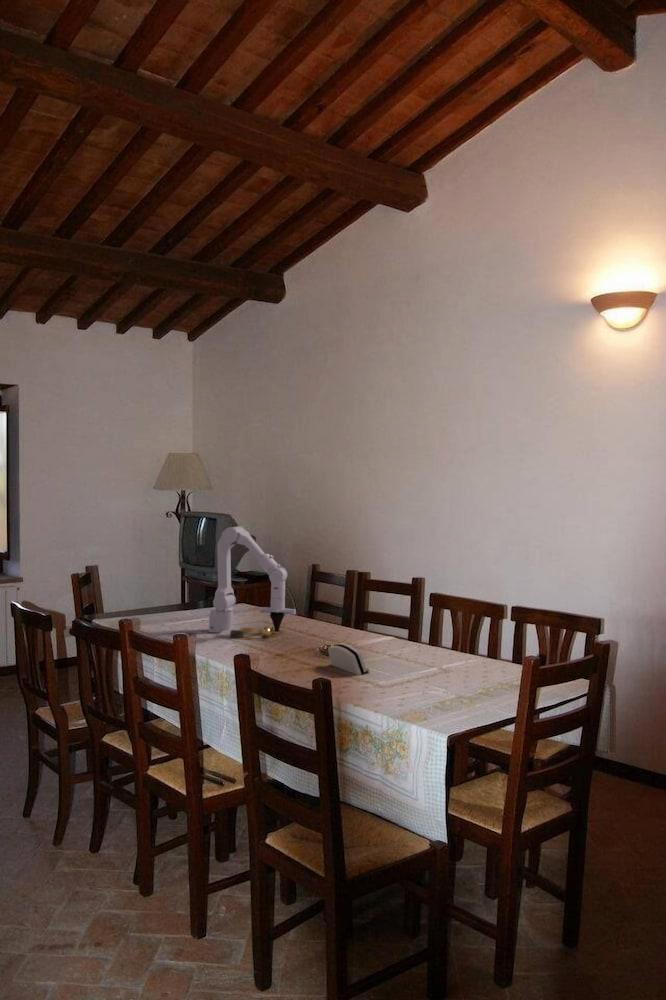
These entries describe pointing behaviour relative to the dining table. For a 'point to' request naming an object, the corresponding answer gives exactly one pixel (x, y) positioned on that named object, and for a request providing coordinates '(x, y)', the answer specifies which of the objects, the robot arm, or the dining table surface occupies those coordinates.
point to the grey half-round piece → (347, 658)
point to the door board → (253, 634)
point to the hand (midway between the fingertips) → (277, 631)
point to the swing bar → (268, 630)
